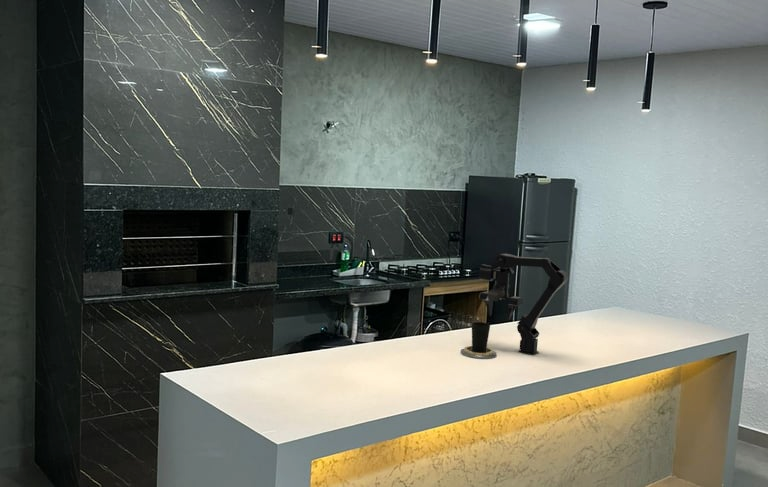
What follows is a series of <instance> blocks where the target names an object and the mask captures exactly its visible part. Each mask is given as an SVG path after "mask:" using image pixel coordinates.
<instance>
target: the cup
mask: <svg viewBox="0 0 768 487" xmlns="http://www.w3.org/2000/svg"><path fill="white" fill-rule="evenodd" d="M490 328H491V324H490V323H488V322H480V321H476V322H475V321H474V322H471V346H472V351H473V352H480V353H486V348H488V347H487V346H488V341H489V336H490V331H491V330H490Z"/></svg>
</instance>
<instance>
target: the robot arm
mask: <svg viewBox="0 0 768 487" xmlns="http://www.w3.org/2000/svg"><path fill="white" fill-rule="evenodd" d="M515 266H517V267H535V268H536V267H538V268H542V269H543V271H544V272H545V273H546V275H547V276H548V277H549V279H548V282H547V285H546V288H545V290H544V291H543V293H542V294H541V296H540V297H539V299H538V300H537V301H536V303H535V304H534V306H533V308H532V309H531V311H530V312H529V313H528V314H527V313H525V314H523V315H521V318H520V319H519V320H518V322H517V323H516V324H517V326H516V329H517V332H518V333H519V336H520V338H521V339H520V341H519V350H518V353H522V354H527V355H535V354H538V353H539V351H538V342H539V341H538V340H539V339H538V337H539V335H540V331H539V330H538V329H537V328H536V326H537V324H538V320H539V317H540V316H541V314H542V313H543V312H544V310H545V309H546V307H547V305H548V304H549V303H550V302H551V300H552V298H553V297H554V295H555V294H556V293H557V292H558V290H560V289H561V288H562V287H563V286H564V285H565V284H566V283H568V280H569V275H568V273H567V272H566V271H564V270H562V269H561V268H560V267H559V266H558V264H557V265H556V264H555V263H554V262H553V260H552V259H550V258H549V257H532V256H531V257H529V256H527V257H525V256H517V255H514V254H511V253H501V254H498V255H497V256H496V257H495V259H494V262H493V263H491V265H489V264H488V265H487V264H481V265H480V268H479V270H478V273H477V276H478V279H479V280H480V281H489V282H493V281H494V280H495V281H494V282H495V284H493V286H492V289H490V290H489V291H482V292H480V293H479V296H478V299H479V300H481V301H482V302H483V304H484V305H485V306H486V309H487V313H488V316H489V317H491V316H492V314H493V309H494V308H493V306H494V302H498V301H503V302H508V304H507V306H508V310H507V311H508V312H507V320H511V317H512V316H513V314H514V312H515V310H516V309H517V308H518V307H520V305H523V304H524V302H523V301H524V299H523V297H521V296H520V297H519V296H515V295H514V296H511V297H510V294H509V288H510V287H511V284H509V283H510V274H514V273H515V271H514V270H513V268H512V267H515Z"/></svg>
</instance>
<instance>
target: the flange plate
mask: <svg viewBox="0 0 768 487" xmlns="http://www.w3.org/2000/svg"><path fill="white" fill-rule="evenodd" d="M460 354H461V355H462V356H463V357H466V358H472V359H478V360H492V359H495V358H497V352H496V351H494V349H492V348H490V347H487V348H486V353H480V352H473V351H472V345H469V346H465V347H463V348H462V349H460Z"/></svg>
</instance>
